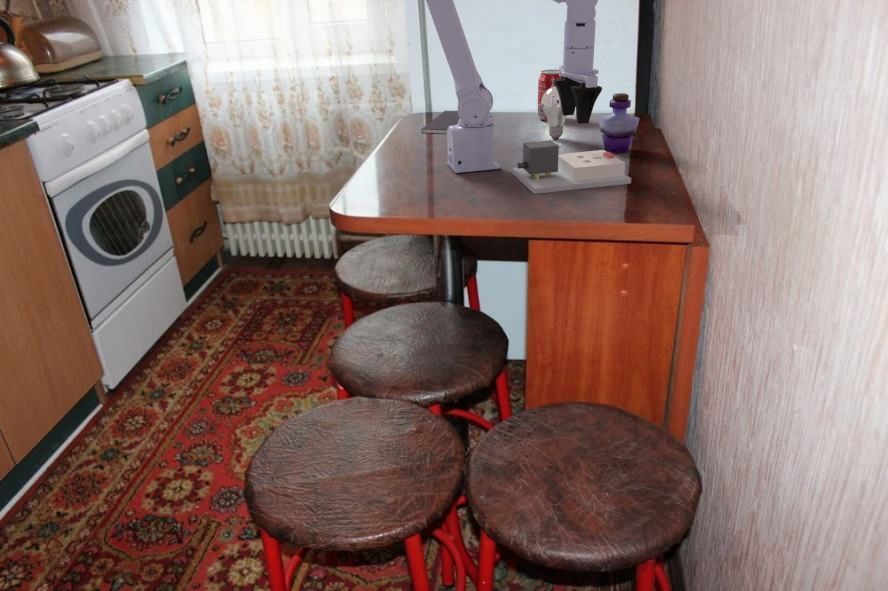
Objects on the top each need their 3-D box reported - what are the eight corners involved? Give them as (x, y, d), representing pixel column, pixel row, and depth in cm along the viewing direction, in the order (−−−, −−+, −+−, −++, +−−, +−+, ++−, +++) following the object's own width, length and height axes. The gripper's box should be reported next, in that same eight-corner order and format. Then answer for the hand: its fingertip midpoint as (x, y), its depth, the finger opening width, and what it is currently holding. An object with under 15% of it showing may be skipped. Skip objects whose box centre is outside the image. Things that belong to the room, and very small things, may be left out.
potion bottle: (645, 149, 156) (650, 93, 151) (620, 157, 151) (624, 99, 146) (614, 143, 162) (617, 88, 157) (588, 150, 157) (591, 94, 152)
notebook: (445, 116, 197) (421, 135, 178) (444, 110, 196) (421, 128, 178) (490, 117, 193) (471, 136, 175) (490, 111, 193) (471, 130, 174)
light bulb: (576, 140, 166) (578, 86, 160) (549, 144, 163) (551, 90, 158) (561, 134, 171) (562, 82, 166) (535, 137, 169) (536, 85, 164)
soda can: (569, 117, 187) (571, 69, 182) (558, 123, 182) (559, 74, 176) (544, 115, 191) (545, 68, 185) (532, 120, 185) (533, 72, 180)
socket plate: (555, 166, 143) (556, 151, 142) (603, 162, 145) (603, 146, 144) (574, 180, 135) (574, 164, 133) (624, 175, 136) (625, 159, 135)
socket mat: (534, 193, 132) (534, 188, 131) (512, 173, 144) (512, 168, 144) (630, 183, 135) (631, 178, 135) (601, 164, 147) (601, 159, 147)
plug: (514, 175, 139) (515, 143, 137) (549, 171, 141) (550, 140, 138) (521, 181, 135) (522, 149, 133) (557, 178, 137) (558, 145, 134)
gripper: (615, 50, 131) (609, 125, 137) (583, 41, 144) (580, 110, 150) (578, 52, 129) (574, 128, 135) (550, 43, 142) (548, 112, 148)
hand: (575, 119), depth 142 cm, fingers open, 7 cm apart
